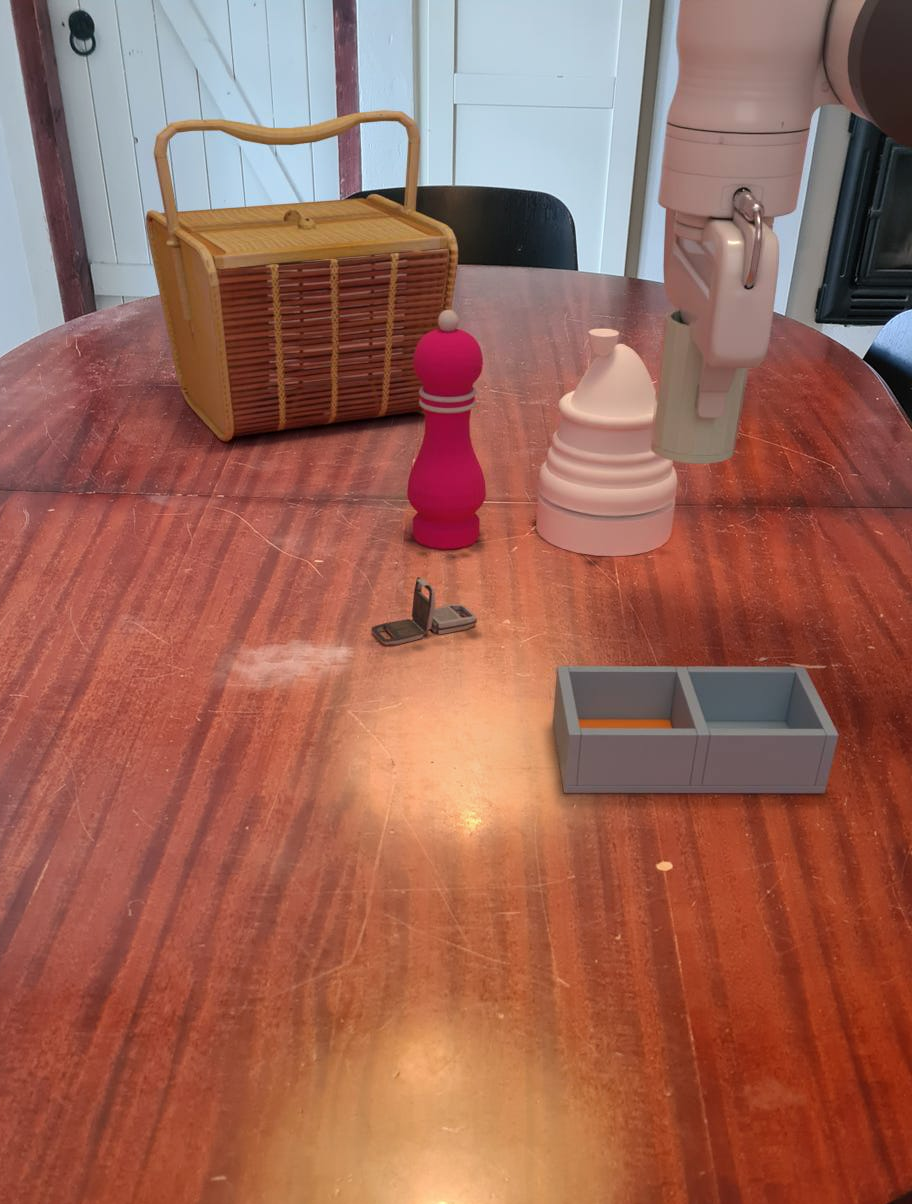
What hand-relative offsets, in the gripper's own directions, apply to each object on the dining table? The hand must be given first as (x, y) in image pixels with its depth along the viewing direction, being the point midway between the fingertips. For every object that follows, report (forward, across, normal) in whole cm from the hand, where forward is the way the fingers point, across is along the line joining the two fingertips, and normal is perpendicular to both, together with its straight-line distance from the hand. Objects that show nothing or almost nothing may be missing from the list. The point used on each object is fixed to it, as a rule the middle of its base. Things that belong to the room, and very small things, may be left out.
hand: (699, 397), depth 87 cm
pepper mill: (+20, +21, +18) cm, 34 cm away
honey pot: (+20, +23, +2) cm, 31 cm away
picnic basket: (+20, +58, +34) cm, 70 cm away
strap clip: (+20, +2, +19) cm, 28 cm away
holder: (+19, -16, +1) cm, 25 cm away
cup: (+4, 0, 0) cm, 4 cm away
